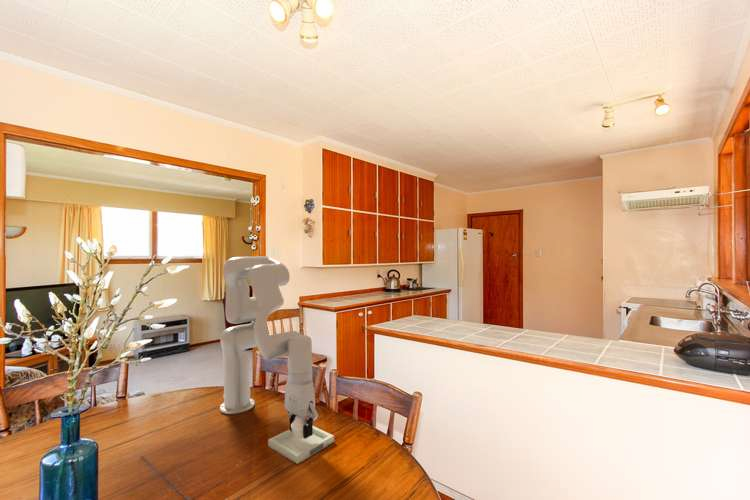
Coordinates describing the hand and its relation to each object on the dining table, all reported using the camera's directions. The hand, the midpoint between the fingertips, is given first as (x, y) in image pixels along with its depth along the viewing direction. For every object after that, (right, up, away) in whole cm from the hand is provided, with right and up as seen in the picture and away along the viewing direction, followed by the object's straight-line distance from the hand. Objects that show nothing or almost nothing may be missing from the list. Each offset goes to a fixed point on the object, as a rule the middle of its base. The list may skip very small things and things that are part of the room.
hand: (301, 432), depth 111 cm
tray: (0, -4, 0) cm, 4 cm away
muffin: (0, -1, 0) cm, 1 cm away
